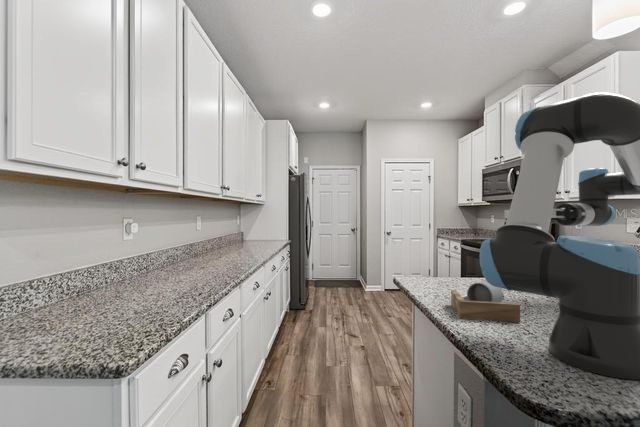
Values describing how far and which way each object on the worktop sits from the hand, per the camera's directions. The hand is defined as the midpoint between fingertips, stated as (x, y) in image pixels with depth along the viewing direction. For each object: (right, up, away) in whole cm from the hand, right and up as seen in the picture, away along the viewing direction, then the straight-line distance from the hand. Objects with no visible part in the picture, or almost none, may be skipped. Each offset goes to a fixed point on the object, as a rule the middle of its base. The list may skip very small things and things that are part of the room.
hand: (524, 213), depth 94 cm
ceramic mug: (-15, -29, -2) cm, 32 cm away
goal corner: (-17, -29, -6) cm, 34 cm away
